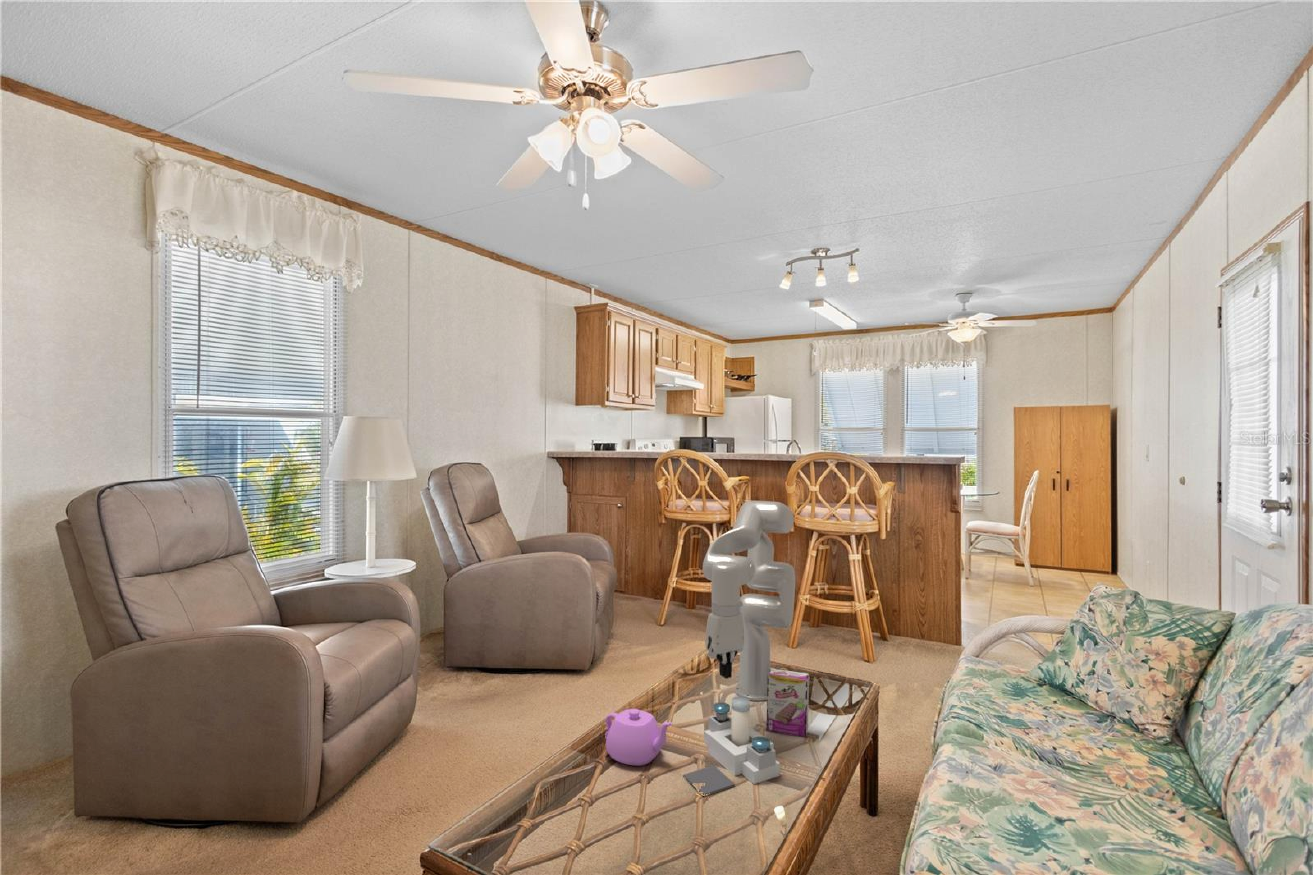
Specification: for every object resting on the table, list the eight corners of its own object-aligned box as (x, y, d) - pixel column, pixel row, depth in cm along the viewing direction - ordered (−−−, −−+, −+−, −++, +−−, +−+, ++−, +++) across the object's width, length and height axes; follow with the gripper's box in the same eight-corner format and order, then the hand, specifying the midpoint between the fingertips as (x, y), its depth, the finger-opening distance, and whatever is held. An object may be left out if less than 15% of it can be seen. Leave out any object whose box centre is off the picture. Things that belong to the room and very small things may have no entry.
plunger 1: (710, 722, 166) (710, 704, 166) (723, 719, 168) (723, 701, 168) (719, 729, 162) (719, 711, 162) (732, 726, 164) (733, 707, 164)
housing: (697, 743, 164) (697, 719, 164) (734, 733, 170) (734, 710, 170) (747, 786, 145) (747, 759, 145) (786, 773, 151) (786, 747, 150)
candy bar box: (766, 732, 171) (766, 673, 170) (768, 723, 176) (769, 667, 175) (807, 738, 167) (807, 679, 167) (808, 730, 172) (809, 672, 172)
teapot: (591, 759, 157) (591, 713, 156) (618, 735, 168) (618, 693, 168) (660, 780, 147) (660, 732, 147) (683, 754, 159) (684, 709, 159)
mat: (682, 777, 149) (682, 774, 149) (713, 767, 153) (713, 765, 153) (703, 797, 141) (703, 794, 141) (734, 786, 145) (734, 783, 145)
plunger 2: (748, 759, 151) (748, 739, 151) (762, 754, 153) (762, 734, 153) (759, 768, 147) (759, 747, 147) (773, 763, 149) (773, 743, 149)
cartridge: (727, 755, 158) (727, 698, 158) (741, 751, 161) (742, 694, 160) (738, 764, 154) (738, 706, 154) (753, 760, 156) (753, 702, 156)
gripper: (739, 600, 170) (739, 665, 170) (694, 609, 162) (694, 677, 163) (756, 608, 163) (756, 675, 164) (710, 617, 156) (710, 688, 156)
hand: (725, 676), depth 163 cm, fingers closed
